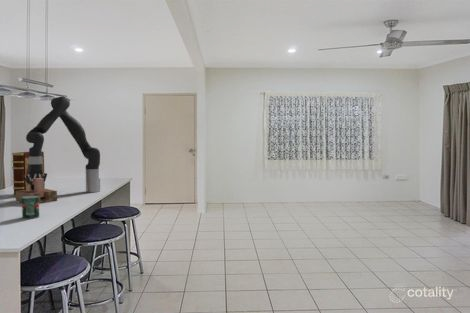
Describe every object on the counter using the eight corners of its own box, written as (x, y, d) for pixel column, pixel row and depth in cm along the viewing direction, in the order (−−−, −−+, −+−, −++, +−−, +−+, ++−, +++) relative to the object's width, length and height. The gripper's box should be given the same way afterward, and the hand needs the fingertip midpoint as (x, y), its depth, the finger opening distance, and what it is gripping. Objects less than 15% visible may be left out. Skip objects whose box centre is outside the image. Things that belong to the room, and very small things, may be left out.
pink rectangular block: (35, 195, 236) (34, 177, 235) (44, 196, 230) (43, 178, 229) (29, 195, 233) (28, 177, 232) (37, 197, 227) (37, 179, 226)
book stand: (40, 197, 244) (40, 187, 243) (57, 200, 232) (56, 190, 232) (15, 200, 230) (15, 190, 230) (31, 204, 219) (31, 194, 219)
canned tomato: (19, 217, 188) (19, 196, 187) (35, 214, 194) (35, 194, 194) (26, 219, 183) (25, 198, 182) (42, 217, 189) (41, 196, 189)
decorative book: (21, 197, 243) (20, 153, 240) (11, 196, 244) (9, 152, 242) (45, 191, 264) (44, 151, 262) (35, 191, 266) (34, 151, 264)
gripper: (43, 162, 238) (44, 187, 239) (21, 163, 226) (21, 190, 227) (49, 162, 233) (50, 188, 235) (27, 164, 222) (27, 191, 223)
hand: (36, 189), depth 231 cm, fingers closed on pink rectangular block, 4 cm apart
